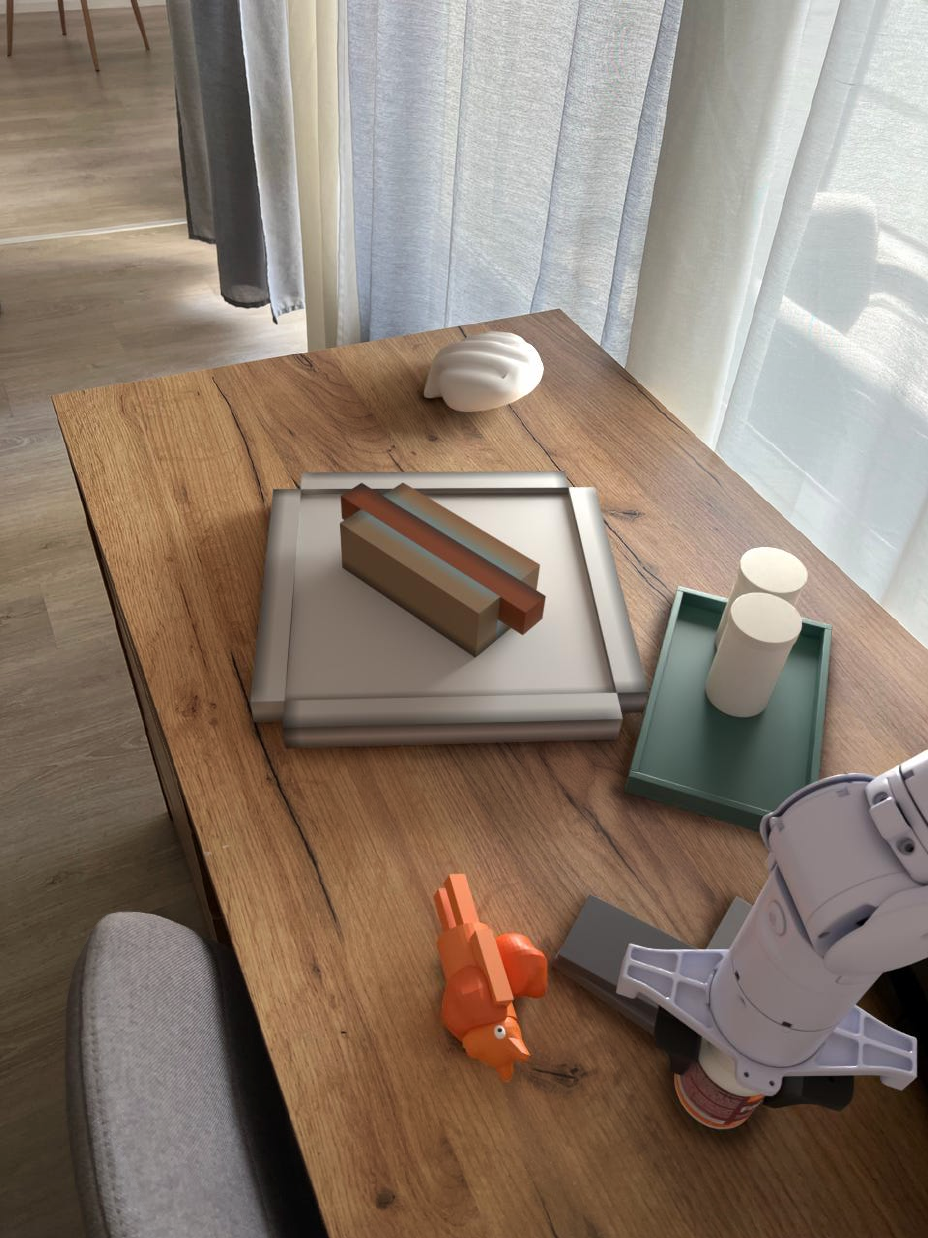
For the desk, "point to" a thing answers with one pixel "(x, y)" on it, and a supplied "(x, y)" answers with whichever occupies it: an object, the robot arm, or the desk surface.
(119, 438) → the desk surface
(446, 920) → the orange toy bird
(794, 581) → the white cylinders
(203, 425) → the desk surface
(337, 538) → the silver square tray
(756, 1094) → the pill bottle
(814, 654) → the tray
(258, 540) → the desk surface
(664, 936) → the grey books
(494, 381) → the shell shaped sculpture
